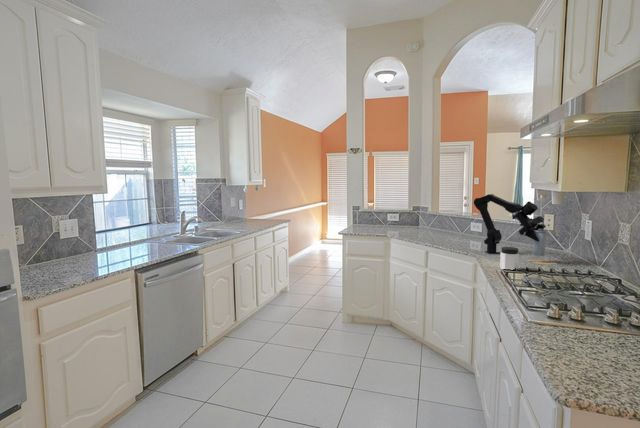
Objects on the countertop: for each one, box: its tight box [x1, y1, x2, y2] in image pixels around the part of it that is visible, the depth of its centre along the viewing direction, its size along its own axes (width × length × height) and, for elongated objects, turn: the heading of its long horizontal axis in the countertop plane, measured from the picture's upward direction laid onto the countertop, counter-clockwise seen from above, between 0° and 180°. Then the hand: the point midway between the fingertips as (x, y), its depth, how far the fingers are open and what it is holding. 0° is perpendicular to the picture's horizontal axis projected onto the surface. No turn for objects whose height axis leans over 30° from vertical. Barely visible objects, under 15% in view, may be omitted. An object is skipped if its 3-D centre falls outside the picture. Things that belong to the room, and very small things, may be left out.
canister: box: [532, 229, 548, 257], centre depth 208 cm, size 6×6×16 cm
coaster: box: [526, 258, 558, 266], centre depth 207 cm, size 12×12×1 cm
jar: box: [499, 246, 520, 270], centre depth 194 cm, size 9×8×12 cm
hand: (541, 240), depth 206 cm, fingers closed on canister, 6 cm apart
